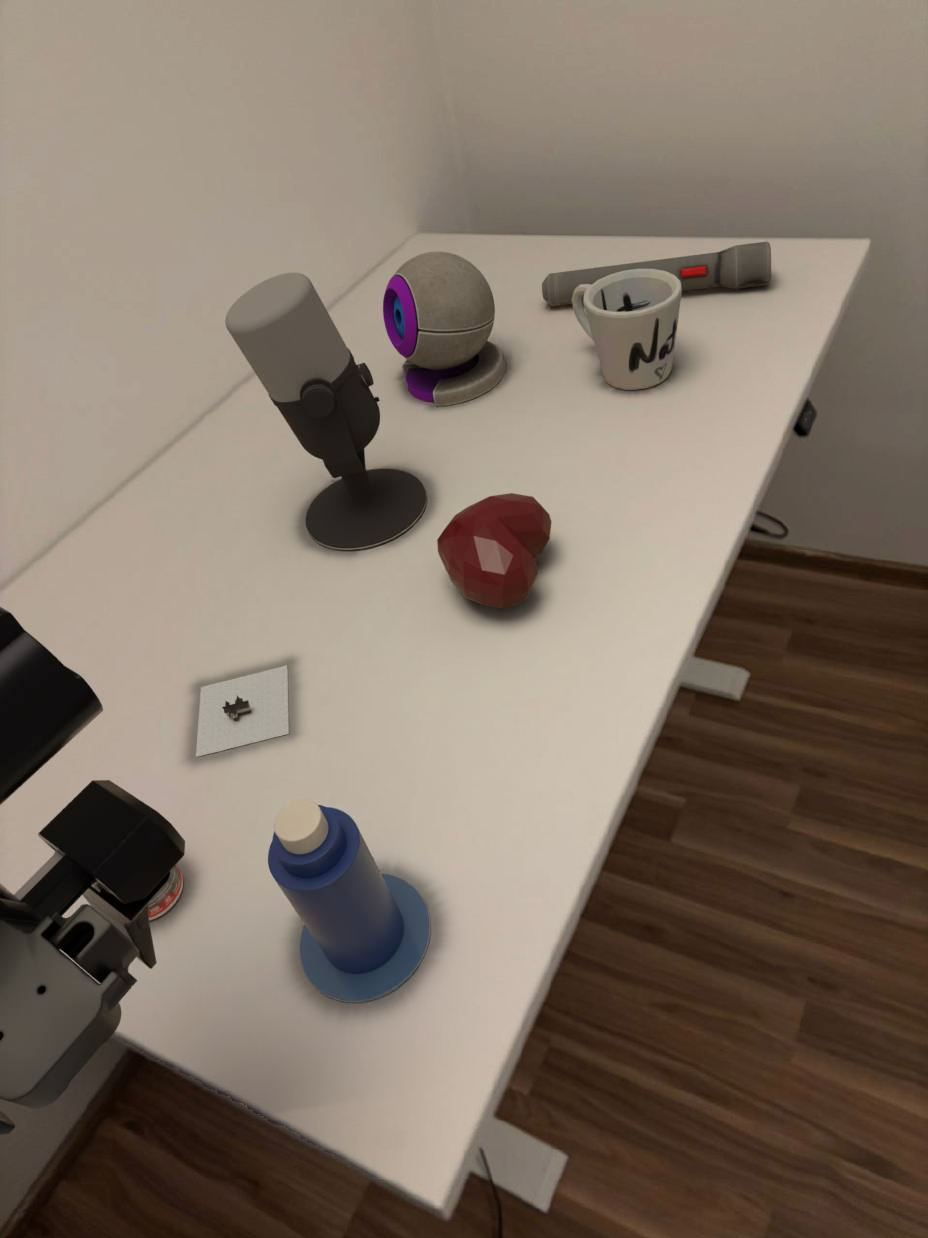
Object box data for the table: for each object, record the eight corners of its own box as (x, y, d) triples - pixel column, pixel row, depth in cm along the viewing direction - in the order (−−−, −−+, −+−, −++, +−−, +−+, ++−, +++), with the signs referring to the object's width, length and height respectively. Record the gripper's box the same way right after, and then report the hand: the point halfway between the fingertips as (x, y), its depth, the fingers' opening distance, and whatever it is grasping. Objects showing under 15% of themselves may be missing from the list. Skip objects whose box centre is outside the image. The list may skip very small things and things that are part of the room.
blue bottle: (349, 992, 59) (277, 883, 49) (308, 930, 62) (233, 817, 53) (419, 936, 60) (363, 821, 51) (376, 879, 64) (315, 761, 54)
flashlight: (545, 270, 120) (538, 269, 116) (768, 242, 113) (771, 239, 108) (548, 310, 122) (541, 311, 117) (769, 284, 114) (771, 284, 109)
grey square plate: (254, 695, 80) (247, 680, 78) (254, 719, 78) (246, 705, 76) (228, 701, 80) (220, 687, 78) (227, 726, 78) (219, 712, 76)
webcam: (387, 375, 115) (354, 260, 105) (475, 337, 117) (452, 221, 107) (429, 418, 106) (398, 296, 96) (525, 375, 108) (504, 252, 98)
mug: (638, 408, 99) (632, 323, 92) (547, 369, 109) (535, 289, 102) (704, 365, 103) (703, 280, 96) (610, 330, 112) (602, 251, 105)
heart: (420, 615, 81) (528, 634, 79) (412, 550, 76) (527, 567, 74) (458, 530, 89) (557, 545, 87) (453, 466, 84) (559, 479, 82)
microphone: (307, 488, 101) (221, 270, 83) (421, 461, 100) (359, 235, 83) (306, 563, 91) (210, 334, 74) (432, 533, 91) (365, 296, 73)
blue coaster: (372, 1030, 57) (371, 1028, 57) (274, 957, 62) (272, 955, 61) (457, 913, 61) (456, 911, 61) (359, 854, 66) (358, 852, 66)
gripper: (-272, 1278, 26) (20, 1347, 37) (187, 792, 36) (314, 961, 46) (-390, 1066, 32) (-108, 1179, 43) (30, 694, 41) (176, 866, 52)
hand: (81, 1039), depth 46 cm, fingers open, 9 cm apart
